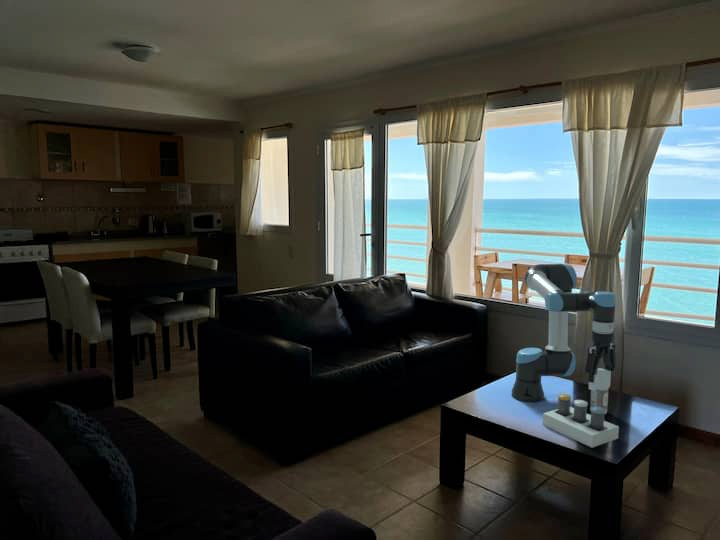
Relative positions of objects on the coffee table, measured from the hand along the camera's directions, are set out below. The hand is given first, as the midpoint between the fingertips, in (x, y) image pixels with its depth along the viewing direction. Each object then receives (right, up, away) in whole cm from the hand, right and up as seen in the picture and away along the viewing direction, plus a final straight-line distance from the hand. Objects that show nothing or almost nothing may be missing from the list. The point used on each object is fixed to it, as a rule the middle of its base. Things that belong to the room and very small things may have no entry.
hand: (599, 387), depth 202 cm
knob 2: (-4, -16, +9) cm, 19 cm away
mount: (-4, -20, +10) cm, 23 cm away
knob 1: (-8, -15, +16) cm, 23 cm away
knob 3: (0, -17, +2) cm, 17 cm away
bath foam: (+13, -18, +29) cm, 37 cm away
